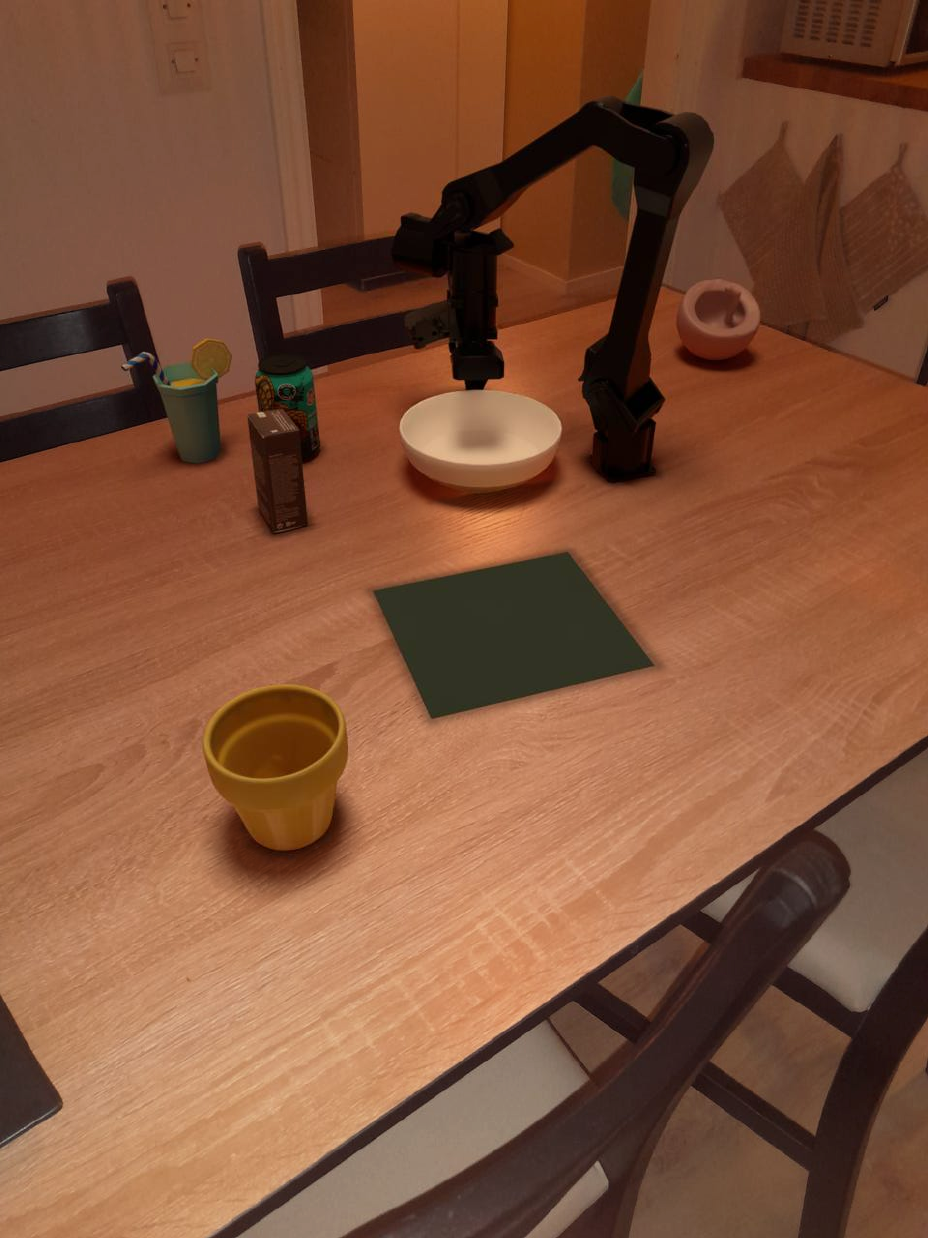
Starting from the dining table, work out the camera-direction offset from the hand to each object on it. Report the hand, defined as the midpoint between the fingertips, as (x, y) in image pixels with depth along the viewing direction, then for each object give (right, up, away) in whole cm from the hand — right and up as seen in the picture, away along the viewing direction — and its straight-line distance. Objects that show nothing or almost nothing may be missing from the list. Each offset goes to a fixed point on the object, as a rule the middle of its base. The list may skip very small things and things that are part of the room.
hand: (472, 402), depth 128 cm
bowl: (+1, -10, -8) cm, 13 cm away
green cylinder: (-23, -8, -5) cm, 25 cm away
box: (-22, -17, -17) cm, 32 cm away
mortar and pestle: (+37, +11, +19) cm, 43 cm away
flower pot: (-15, -45, -51) cm, 70 cm away
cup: (-35, -8, -5) cm, 37 cm away
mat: (+3, -30, -32) cm, 44 cm away
